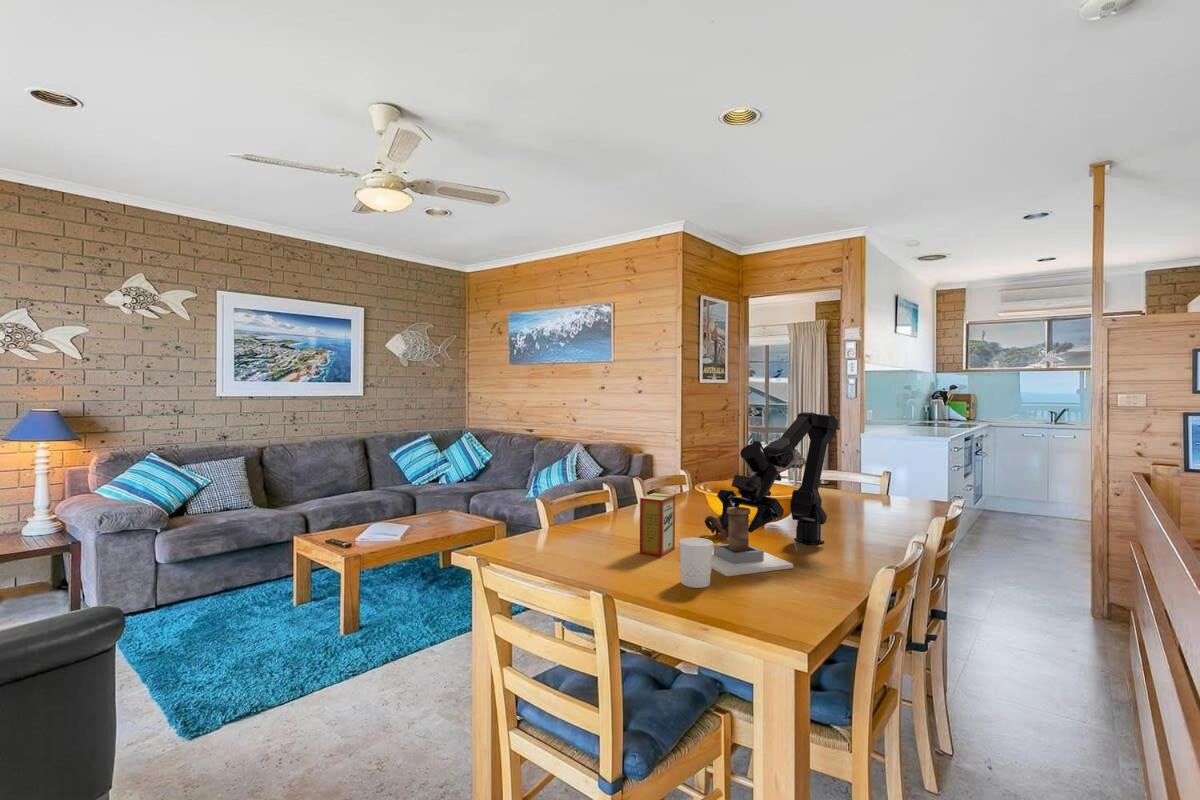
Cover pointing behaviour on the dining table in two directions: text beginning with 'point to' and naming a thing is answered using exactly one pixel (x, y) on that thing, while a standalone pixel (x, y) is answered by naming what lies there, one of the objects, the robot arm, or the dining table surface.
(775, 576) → the dining table surface
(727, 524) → the pottery mug
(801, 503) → the robot arm
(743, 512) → the brown cylinder
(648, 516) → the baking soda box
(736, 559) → the square socket base
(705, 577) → the white cup
